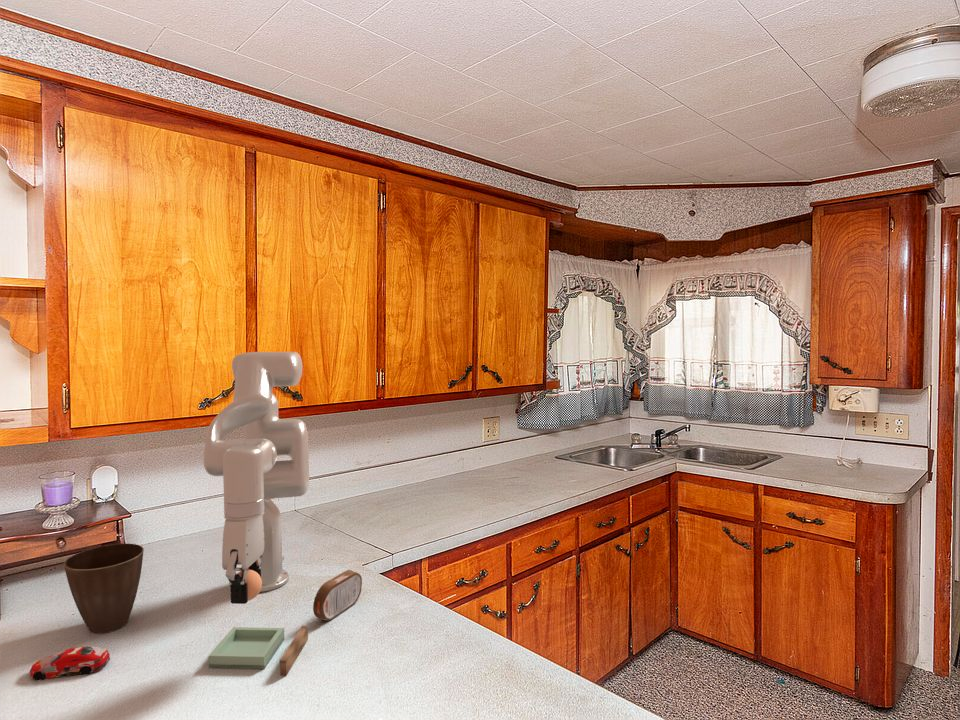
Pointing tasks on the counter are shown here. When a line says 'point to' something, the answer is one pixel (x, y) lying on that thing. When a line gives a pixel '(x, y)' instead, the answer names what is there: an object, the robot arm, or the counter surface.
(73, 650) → the race car
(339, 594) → the tin
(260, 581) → the ball
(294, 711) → the counter surface
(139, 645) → the counter surface
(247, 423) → the robot arm
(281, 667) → the rail
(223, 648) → the tray
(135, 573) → the plant pot
